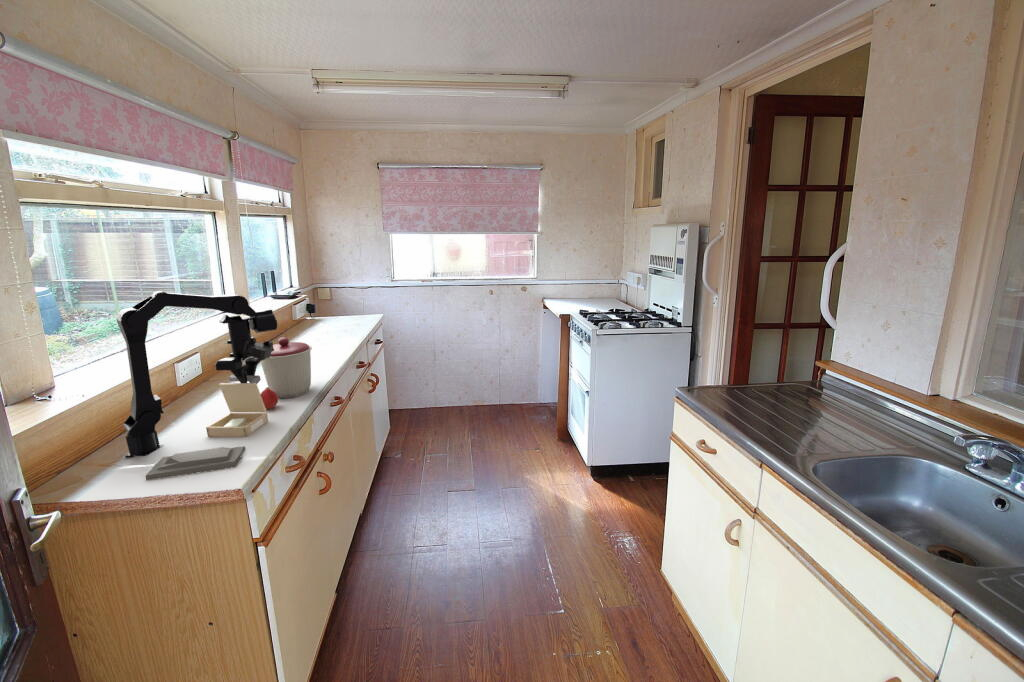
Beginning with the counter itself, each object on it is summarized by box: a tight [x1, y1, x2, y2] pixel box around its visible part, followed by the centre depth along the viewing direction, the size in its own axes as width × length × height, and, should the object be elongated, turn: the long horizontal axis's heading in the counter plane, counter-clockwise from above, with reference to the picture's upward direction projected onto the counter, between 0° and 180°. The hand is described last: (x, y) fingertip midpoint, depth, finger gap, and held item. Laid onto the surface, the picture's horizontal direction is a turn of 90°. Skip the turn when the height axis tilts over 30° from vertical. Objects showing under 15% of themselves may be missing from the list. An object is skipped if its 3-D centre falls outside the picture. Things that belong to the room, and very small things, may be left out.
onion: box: [260, 386, 279, 410], centre depth 162 cm, size 6×6×8 cm
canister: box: [260, 337, 313, 399], centre depth 176 cm, size 18×18×21 cm
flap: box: [218, 374, 268, 413], centre depth 151 cm, size 10×12×5 cm
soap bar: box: [224, 418, 247, 427], centre depth 147 cm, size 6×4×2 cm, turn 5°
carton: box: [205, 412, 269, 438], centre depth 146 cm, size 11×12×3 cm
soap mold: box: [145, 445, 246, 481], centre depth 126 cm, size 10×20×4 cm, turn 105°
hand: (248, 384), depth 151 cm, fingers open, 3 cm apart
